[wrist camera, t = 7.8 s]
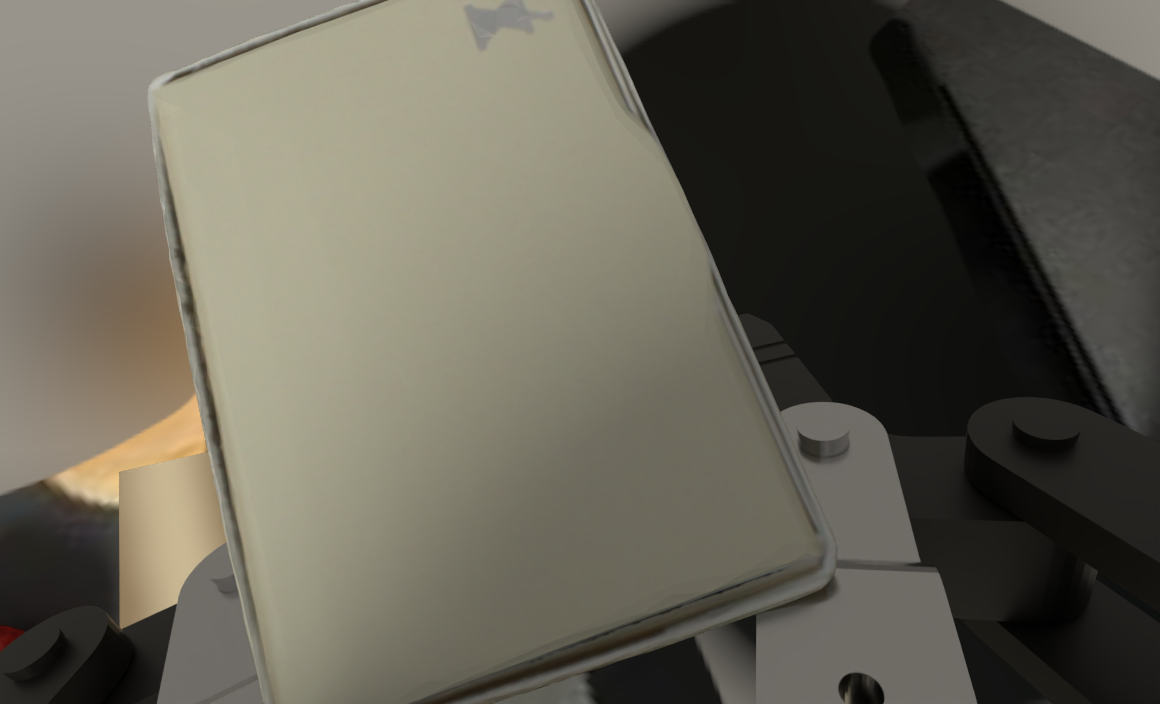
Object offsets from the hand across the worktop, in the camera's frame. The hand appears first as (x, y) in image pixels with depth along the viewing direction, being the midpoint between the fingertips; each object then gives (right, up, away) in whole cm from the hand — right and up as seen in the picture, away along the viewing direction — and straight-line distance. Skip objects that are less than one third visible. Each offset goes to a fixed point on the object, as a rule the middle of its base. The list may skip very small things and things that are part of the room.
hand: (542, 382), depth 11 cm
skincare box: (+1, -2, +6) cm, 6 cm away
